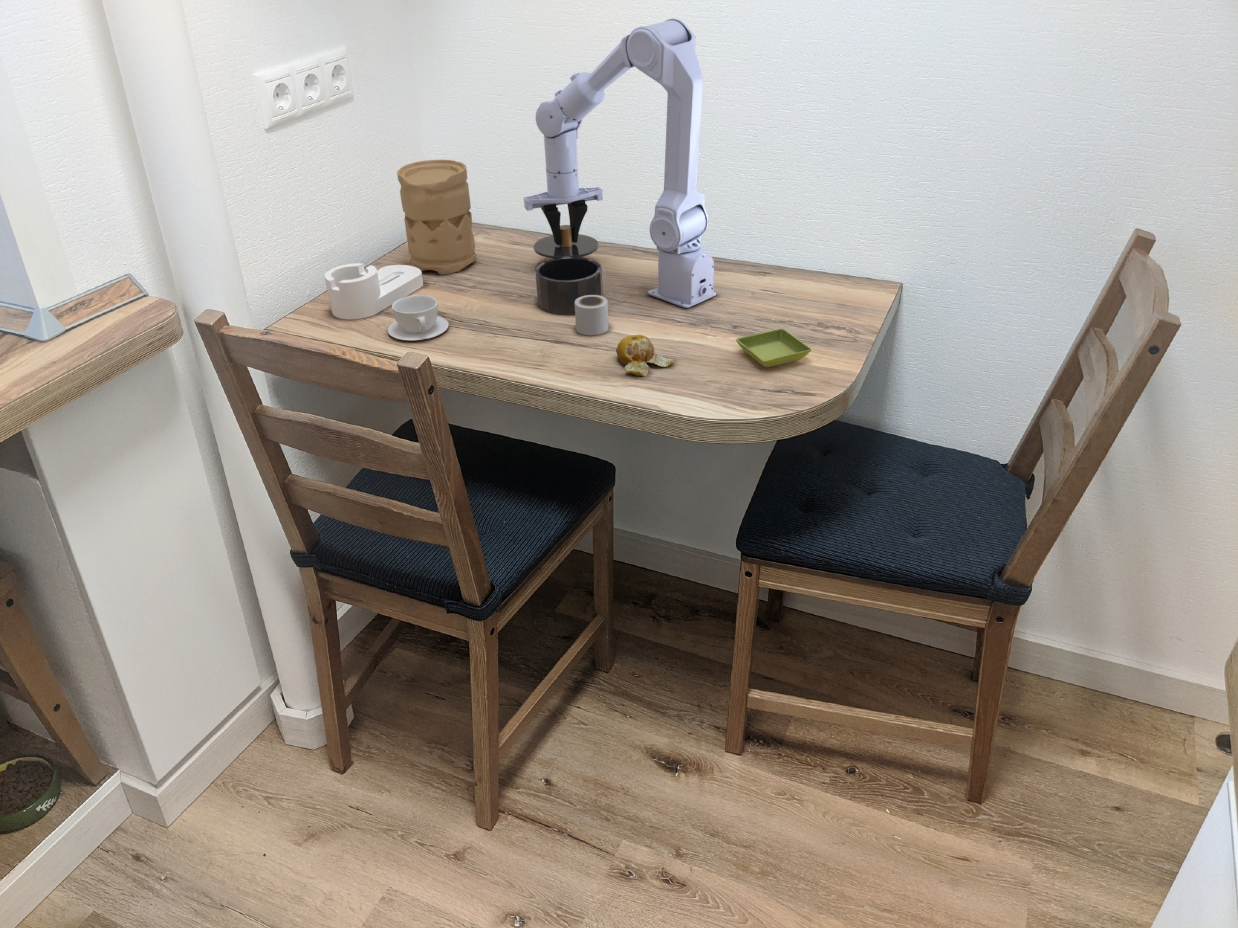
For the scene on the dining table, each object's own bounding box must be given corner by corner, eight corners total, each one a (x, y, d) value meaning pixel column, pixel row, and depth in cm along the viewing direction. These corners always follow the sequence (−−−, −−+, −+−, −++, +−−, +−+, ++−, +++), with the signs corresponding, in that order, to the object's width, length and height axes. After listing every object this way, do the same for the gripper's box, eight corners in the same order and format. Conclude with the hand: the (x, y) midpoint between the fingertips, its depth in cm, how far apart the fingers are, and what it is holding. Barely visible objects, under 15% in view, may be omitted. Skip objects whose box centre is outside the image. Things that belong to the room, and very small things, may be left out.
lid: (612, 249, 180) (611, 226, 178) (563, 267, 173) (562, 243, 171) (568, 234, 188) (567, 212, 185) (520, 251, 180) (518, 228, 178)
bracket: (360, 323, 162) (353, 286, 159) (321, 314, 166) (313, 278, 162) (431, 281, 177) (426, 246, 173) (393, 274, 180) (388, 240, 177)
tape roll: (615, 328, 158) (614, 300, 155) (591, 338, 155) (590, 310, 152) (593, 318, 161) (591, 291, 159) (569, 329, 158) (567, 301, 156)
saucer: (762, 373, 143) (763, 361, 142) (733, 350, 150) (734, 338, 149) (812, 361, 146) (813, 349, 145) (781, 339, 153) (782, 327, 152)
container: (471, 274, 179) (460, 178, 170) (405, 275, 180) (390, 180, 170) (480, 250, 190) (470, 158, 180) (417, 251, 190) (404, 160, 180)
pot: (616, 300, 168) (615, 268, 164) (567, 320, 161) (565, 287, 158) (572, 283, 174) (570, 252, 171) (524, 302, 168) (521, 270, 165)
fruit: (633, 379, 143) (633, 357, 141) (602, 359, 148) (601, 338, 146) (677, 364, 146) (677, 342, 144) (645, 345, 152) (645, 324, 150)
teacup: (382, 324, 162) (378, 298, 159) (440, 313, 165) (436, 287, 162) (395, 347, 154) (391, 321, 151) (455, 335, 157) (452, 309, 154)
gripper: (592, 159, 177) (595, 230, 185) (517, 168, 173) (523, 241, 181) (605, 168, 172) (607, 241, 179) (527, 179, 168) (533, 253, 175)
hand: (566, 242), depth 179 cm, fingers closed on lid, 2 cm apart
